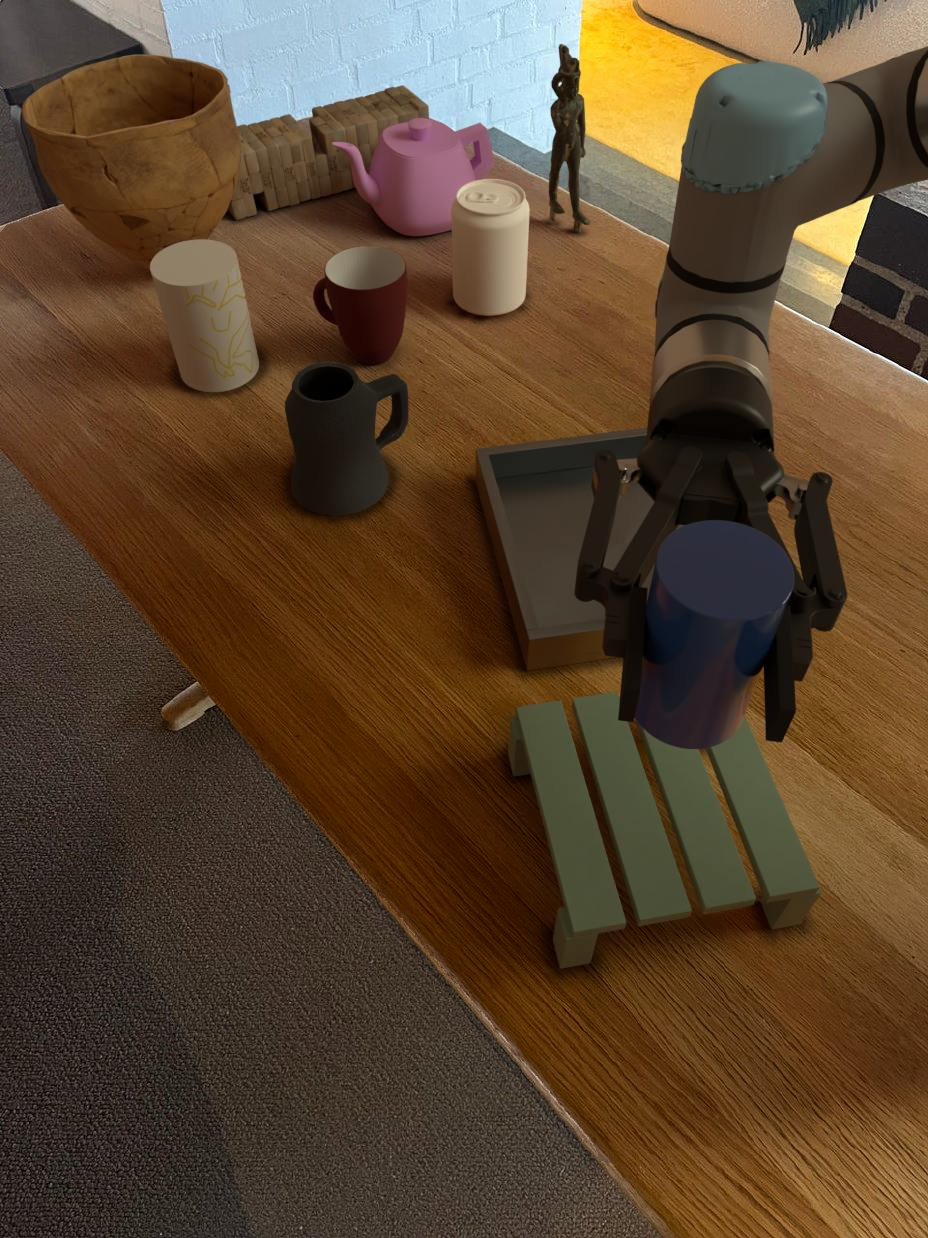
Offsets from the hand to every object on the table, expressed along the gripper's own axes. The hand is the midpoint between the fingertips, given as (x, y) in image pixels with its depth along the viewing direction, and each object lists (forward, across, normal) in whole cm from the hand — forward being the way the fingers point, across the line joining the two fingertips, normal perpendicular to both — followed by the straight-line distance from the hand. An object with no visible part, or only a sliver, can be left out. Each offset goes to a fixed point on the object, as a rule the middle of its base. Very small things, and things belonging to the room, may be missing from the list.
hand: (704, 715), depth 46 cm
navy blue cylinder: (-5, 0, -6) cm, 8 cm away
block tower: (-91, +47, -22) cm, 105 cm away
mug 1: (-56, +32, -22) cm, 69 cm away
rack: (-5, 0, -22) cm, 23 cm away
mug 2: (-37, +29, -22) cm, 52 cm away
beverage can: (-68, +21, -22) cm, 74 cm away
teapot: (-85, +32, -22) cm, 94 cm away
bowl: (-68, +58, -22) cm, 92 cm away
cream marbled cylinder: (-51, +47, -22) cm, 73 cm away
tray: (-32, +3, -22) cm, 39 cm away
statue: (-84, +14, -22) cm, 88 cm away
